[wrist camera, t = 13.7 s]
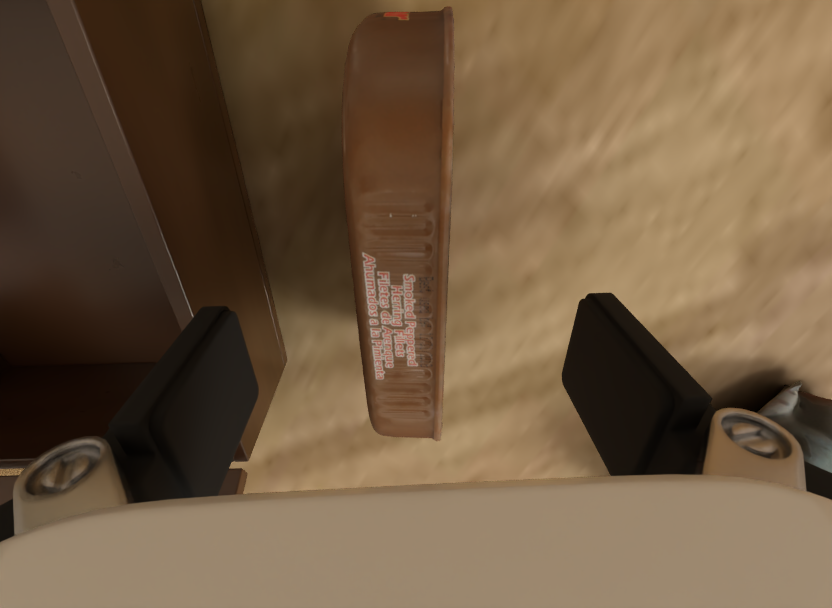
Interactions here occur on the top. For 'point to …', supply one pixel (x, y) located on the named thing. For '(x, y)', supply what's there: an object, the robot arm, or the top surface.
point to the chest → (115, 214)
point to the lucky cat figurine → (804, 422)
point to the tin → (400, 210)
